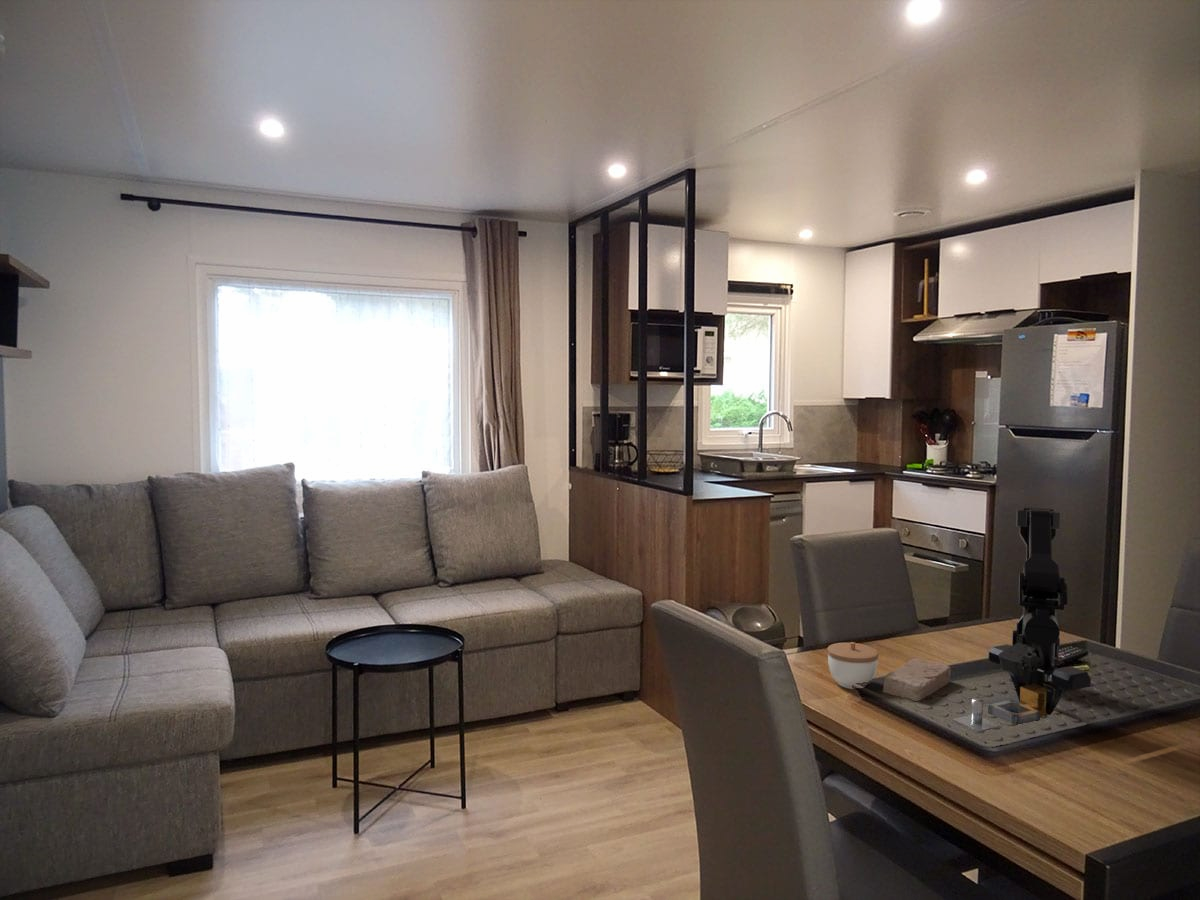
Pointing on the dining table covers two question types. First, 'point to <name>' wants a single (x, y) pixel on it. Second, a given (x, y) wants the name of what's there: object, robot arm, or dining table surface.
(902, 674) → the brick
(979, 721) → the metal knob
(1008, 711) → the grey and orange frame
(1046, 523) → the robot arm
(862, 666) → the lidded jar
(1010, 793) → the dining table surface
